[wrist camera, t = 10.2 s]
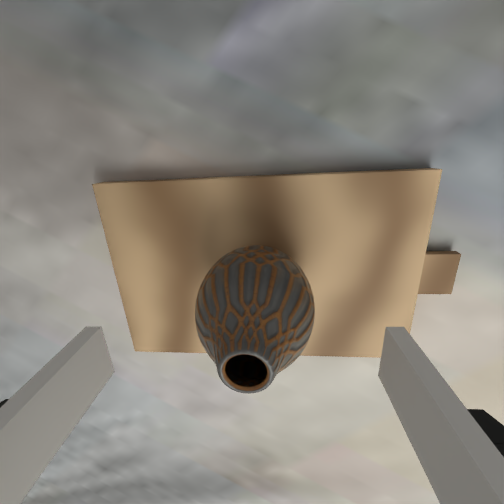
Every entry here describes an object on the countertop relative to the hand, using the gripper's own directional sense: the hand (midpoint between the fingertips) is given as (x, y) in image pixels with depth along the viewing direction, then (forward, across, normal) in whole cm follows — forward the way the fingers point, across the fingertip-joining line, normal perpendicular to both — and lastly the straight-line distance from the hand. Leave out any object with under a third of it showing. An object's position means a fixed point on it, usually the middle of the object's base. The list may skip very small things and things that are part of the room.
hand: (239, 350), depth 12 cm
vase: (+7, +1, 0) cm, 8 cm away
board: (+8, +2, 0) cm, 9 cm away
